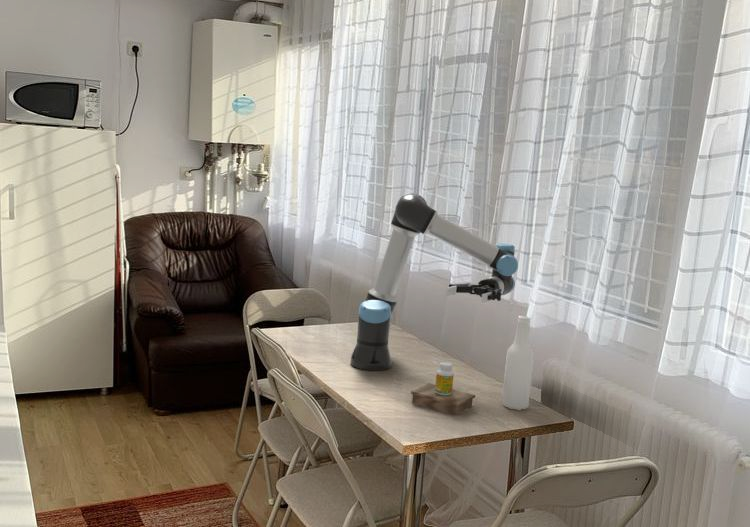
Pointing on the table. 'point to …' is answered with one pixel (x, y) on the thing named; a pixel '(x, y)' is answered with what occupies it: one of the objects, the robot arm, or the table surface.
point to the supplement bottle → (444, 379)
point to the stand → (442, 399)
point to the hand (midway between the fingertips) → (464, 295)
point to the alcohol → (518, 368)
